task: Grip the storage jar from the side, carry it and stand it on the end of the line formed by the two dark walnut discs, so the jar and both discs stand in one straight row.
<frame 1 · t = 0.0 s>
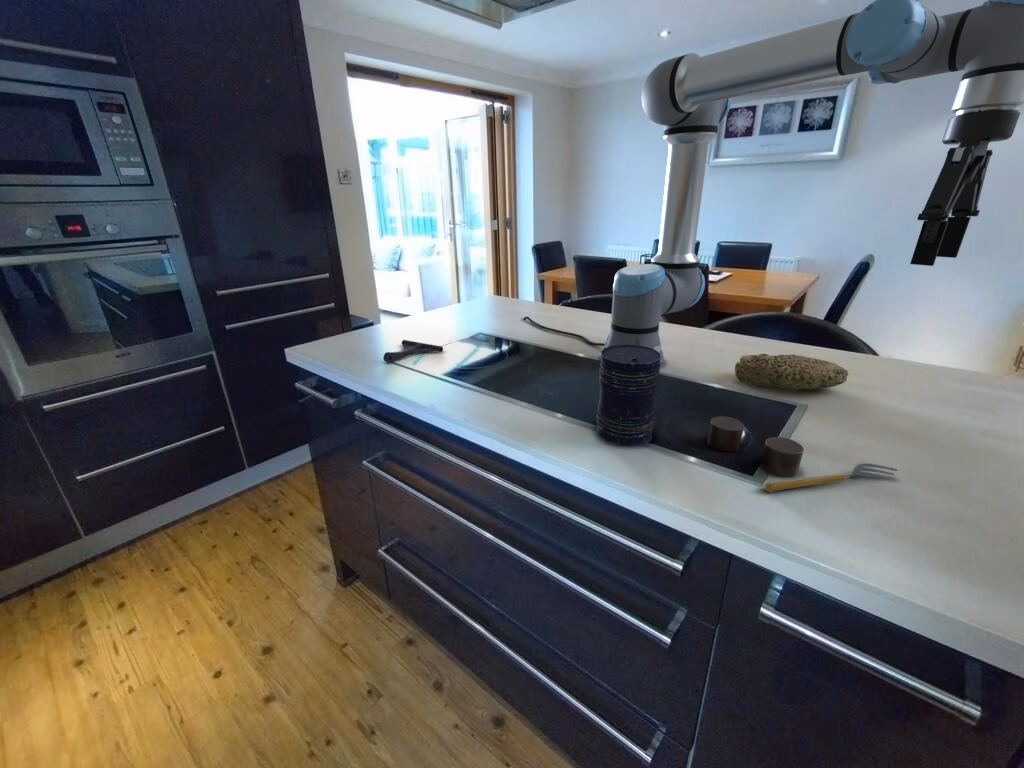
hand: (934, 260, 73), 28 cm above the worktop, tool pointing down, fingers open, 13 cm apart
storage jar: (623, 433, 79), on the worktop
walnut disc 1: (723, 444, 74), on the worktop
fork: (826, 485, 64), on the worktop
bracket: (405, 356, 121), on the worktop
sponge: (786, 386, 96), on the worktop
walnut disc 2: (778, 467, 68), on the worktop
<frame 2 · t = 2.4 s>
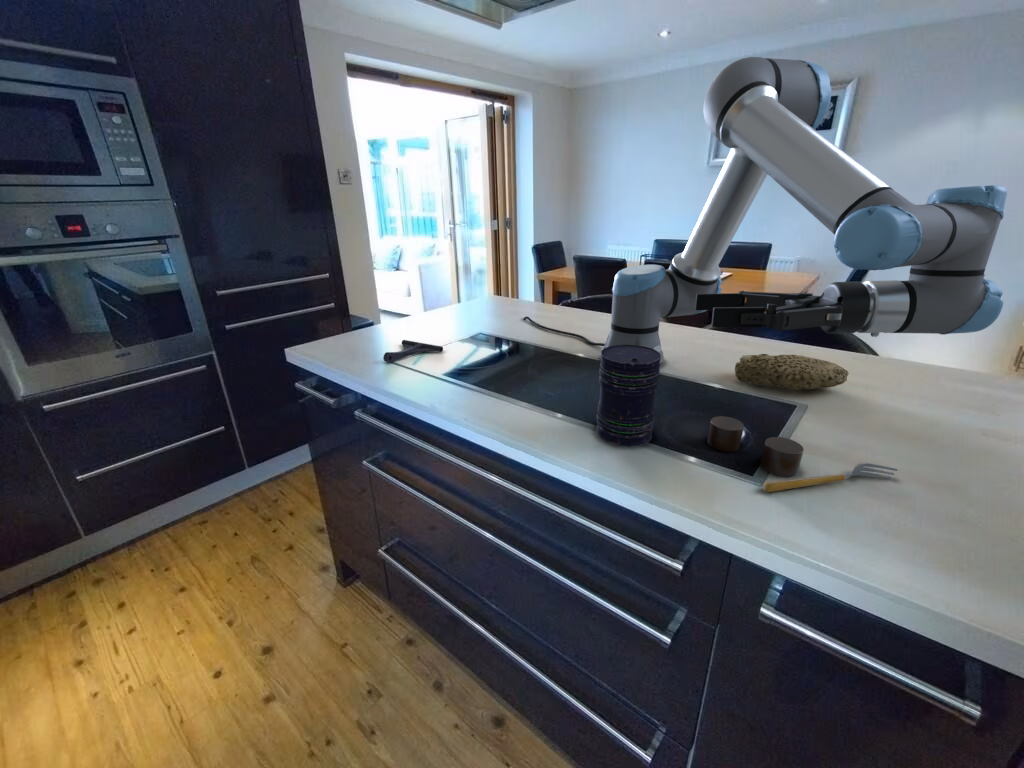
hand: (703, 308, 69), 22 cm above the worktop, tool horizontal, fingers open, 13 cm apart
nothing on the worktop moved.
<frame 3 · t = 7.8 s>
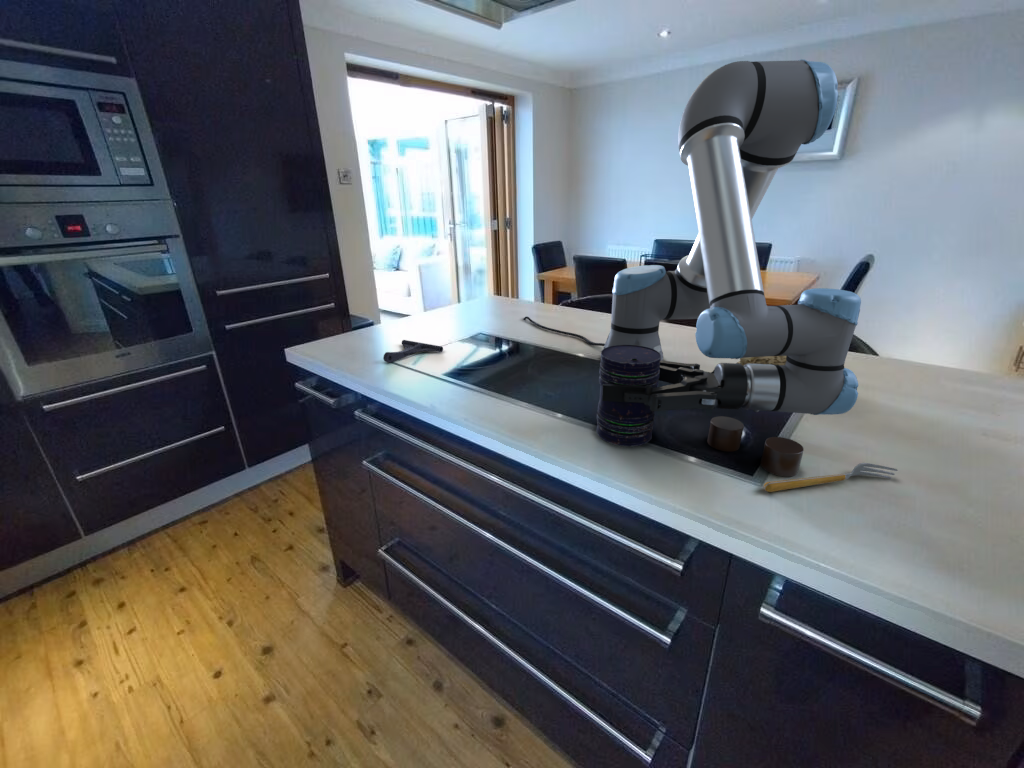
hand: (602, 379, 76), 10 cm above the worktop, tool horizontal, fingers closed on storage jar, 10 cm apart
storage jar: (623, 433, 79), on the worktop, touching gripper
everything else where it was.
when the fingers open (10 cm above the worktop, at t = 13.9 s): storage jar stays where it is, on the worktop.
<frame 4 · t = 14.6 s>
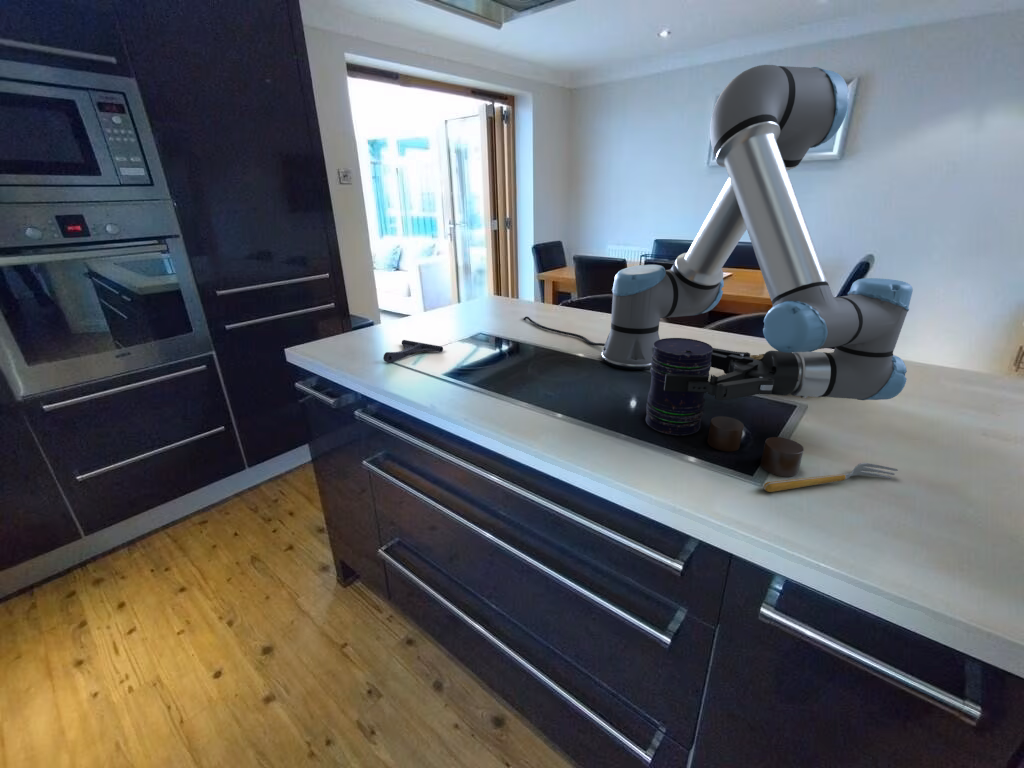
hand: (659, 367, 78), 11 cm above the worktop, tool horizontal, fingers open, 13 cm apart
storage jar: (672, 423, 82), on the worktop
everything else where it was.
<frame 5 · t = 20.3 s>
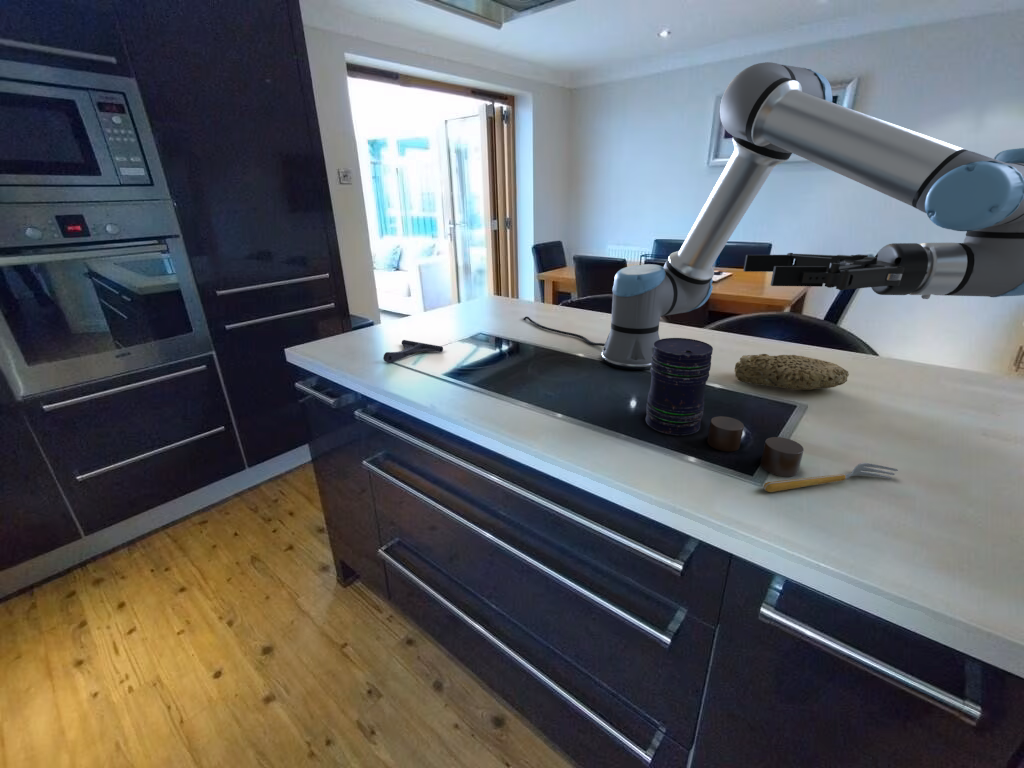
hand: (757, 269, 69), 28 cm above the worktop, tool horizontal, fingers open, 13 cm apart
nothing on the worktop moved.
at the end: storage jar inside the target area (0.1 cm from its centre), on the worktop; storage jar tilted 0°; the gripper is holding nothing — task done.
